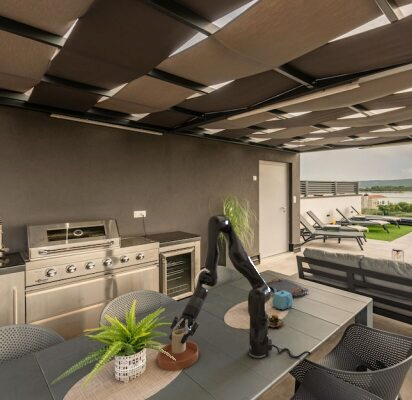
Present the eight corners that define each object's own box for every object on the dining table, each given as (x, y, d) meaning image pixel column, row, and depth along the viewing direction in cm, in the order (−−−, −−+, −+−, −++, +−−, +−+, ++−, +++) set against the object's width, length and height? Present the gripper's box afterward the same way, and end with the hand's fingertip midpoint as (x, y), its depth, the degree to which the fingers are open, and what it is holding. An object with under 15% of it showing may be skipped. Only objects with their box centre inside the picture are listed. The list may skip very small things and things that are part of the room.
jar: (186, 346, 134) (187, 328, 134) (183, 353, 128) (184, 335, 128) (173, 346, 134) (174, 329, 133) (170, 353, 127) (170, 335, 127)
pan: (201, 347, 140) (201, 340, 140) (194, 369, 122) (194, 361, 122) (164, 348, 139) (165, 341, 139) (152, 371, 121) (152, 363, 121)
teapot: (279, 300, 205) (279, 285, 205) (296, 308, 191) (296, 292, 191) (266, 304, 197) (266, 288, 197) (283, 313, 183) (283, 296, 183)
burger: (260, 321, 170) (261, 309, 170) (278, 319, 174) (278, 307, 174) (267, 330, 159) (267, 317, 159) (286, 327, 163) (286, 314, 163)
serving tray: (262, 286, 238) (262, 279, 238) (283, 281, 251) (283, 275, 251) (289, 300, 206) (289, 292, 206) (312, 294, 219) (312, 287, 218)
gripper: (178, 301, 140) (160, 335, 130) (201, 306, 134) (184, 342, 124) (185, 308, 145) (168, 340, 134) (208, 313, 139) (192, 348, 129)
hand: (176, 341), depth 129 cm, fingers closed on jar, 6 cm apart
